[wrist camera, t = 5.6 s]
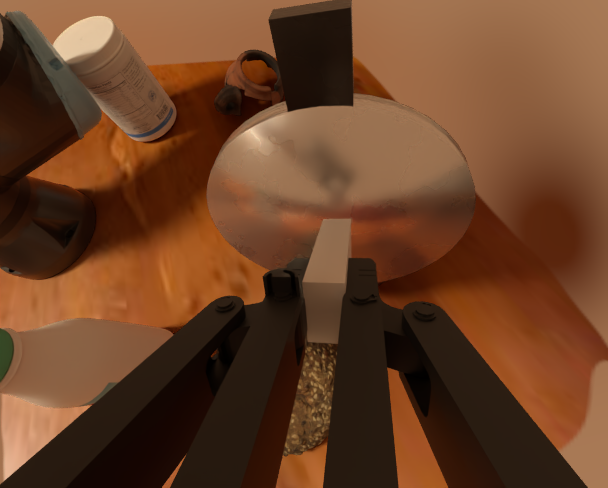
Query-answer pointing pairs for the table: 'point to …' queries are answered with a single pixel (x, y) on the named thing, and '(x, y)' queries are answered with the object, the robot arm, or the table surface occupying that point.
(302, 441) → the speckled stone
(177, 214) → the table surface
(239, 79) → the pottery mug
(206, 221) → the table surface
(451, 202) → the lid
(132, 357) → the milk bottle
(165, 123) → the supplement tub
